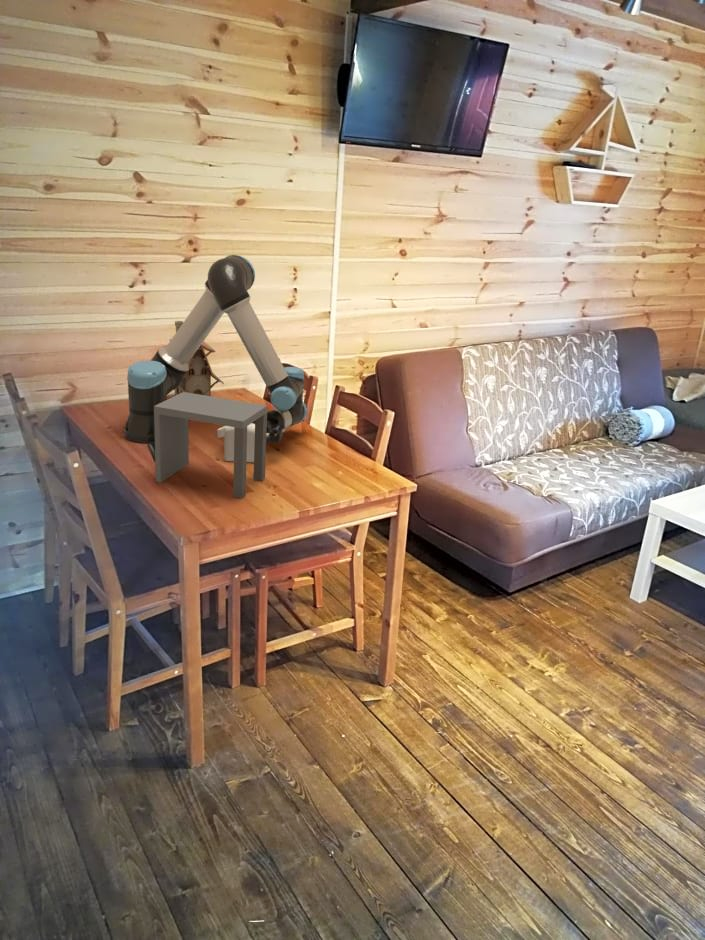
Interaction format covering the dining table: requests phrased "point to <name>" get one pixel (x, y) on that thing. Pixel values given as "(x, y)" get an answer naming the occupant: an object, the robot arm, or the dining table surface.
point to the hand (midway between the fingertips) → (236, 438)
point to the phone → (152, 449)
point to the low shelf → (211, 410)
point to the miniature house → (197, 372)
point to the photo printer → (230, 443)
